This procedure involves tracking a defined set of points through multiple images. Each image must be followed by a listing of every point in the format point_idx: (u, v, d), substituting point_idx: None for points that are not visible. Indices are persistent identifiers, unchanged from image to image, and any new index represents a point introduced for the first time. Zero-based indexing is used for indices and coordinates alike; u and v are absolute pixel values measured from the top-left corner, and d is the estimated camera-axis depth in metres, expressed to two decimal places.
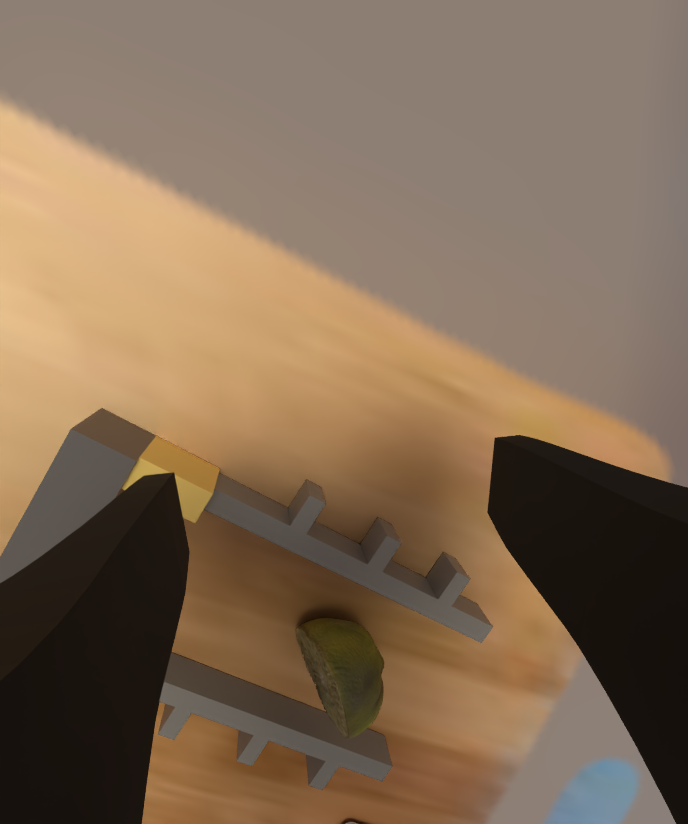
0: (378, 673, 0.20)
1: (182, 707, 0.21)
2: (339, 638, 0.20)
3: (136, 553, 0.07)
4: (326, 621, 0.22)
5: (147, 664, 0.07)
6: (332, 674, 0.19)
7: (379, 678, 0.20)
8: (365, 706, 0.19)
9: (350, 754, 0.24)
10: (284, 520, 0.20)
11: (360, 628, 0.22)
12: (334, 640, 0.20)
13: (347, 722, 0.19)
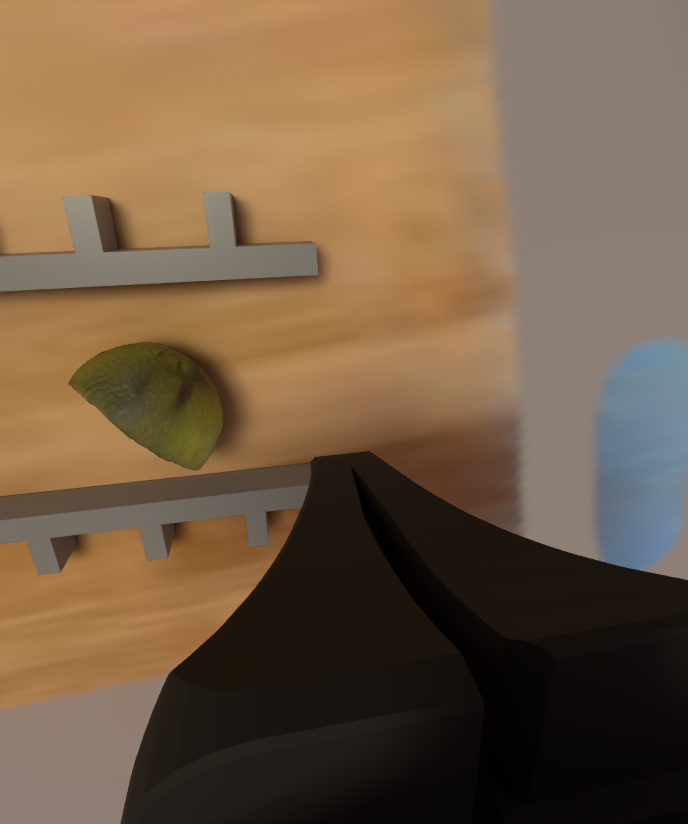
0: (162, 371, 0.14)
1: (34, 537, 0.18)
2: (95, 360, 0.15)
3: None
4: None
5: None
6: (86, 398, 0.14)
7: (166, 376, 0.14)
8: (149, 412, 0.14)
9: (267, 493, 0.19)
10: None
11: None
12: (88, 365, 0.15)
13: (137, 441, 0.14)
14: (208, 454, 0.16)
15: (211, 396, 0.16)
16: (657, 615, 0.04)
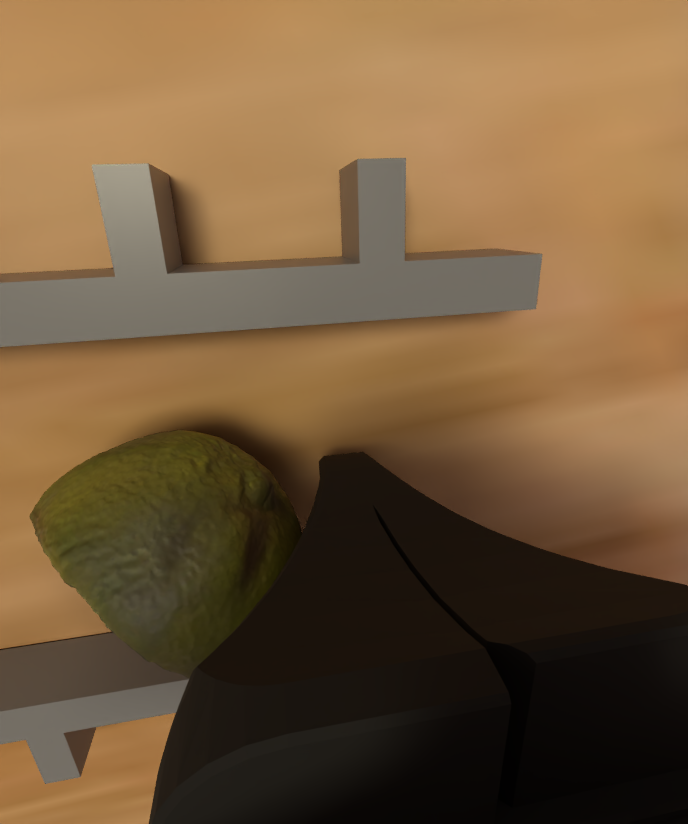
0: (215, 510, 0.07)
1: (38, 733, 0.11)
2: (84, 478, 0.08)
3: None
4: None
5: None
6: (61, 573, 0.07)
7: (223, 520, 0.07)
8: (191, 606, 0.07)
9: None
10: None
11: (171, 434, 0.09)
12: (70, 489, 0.07)
13: (163, 666, 0.07)
14: None
15: (293, 535, 0.09)
16: (641, 617, 0.04)
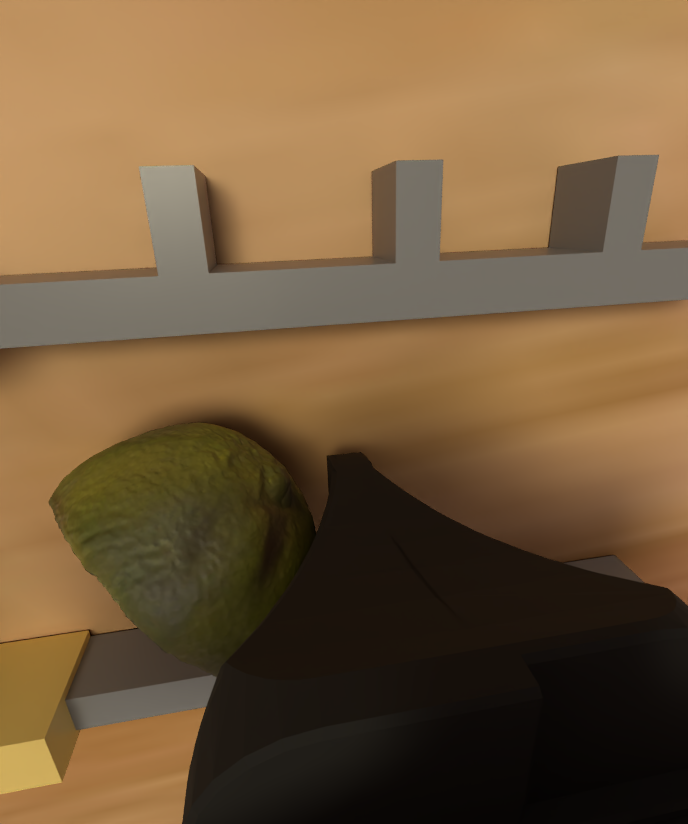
0: (237, 505, 0.07)
1: None
2: (106, 467, 0.08)
3: None
4: None
5: None
6: (82, 560, 0.07)
7: (245, 515, 0.07)
8: (211, 599, 0.07)
9: None
10: (145, 275, 0.08)
11: (192, 426, 0.09)
12: (92, 477, 0.07)
13: (180, 657, 0.07)
14: None
15: (309, 533, 0.09)
16: (618, 623, 0.04)
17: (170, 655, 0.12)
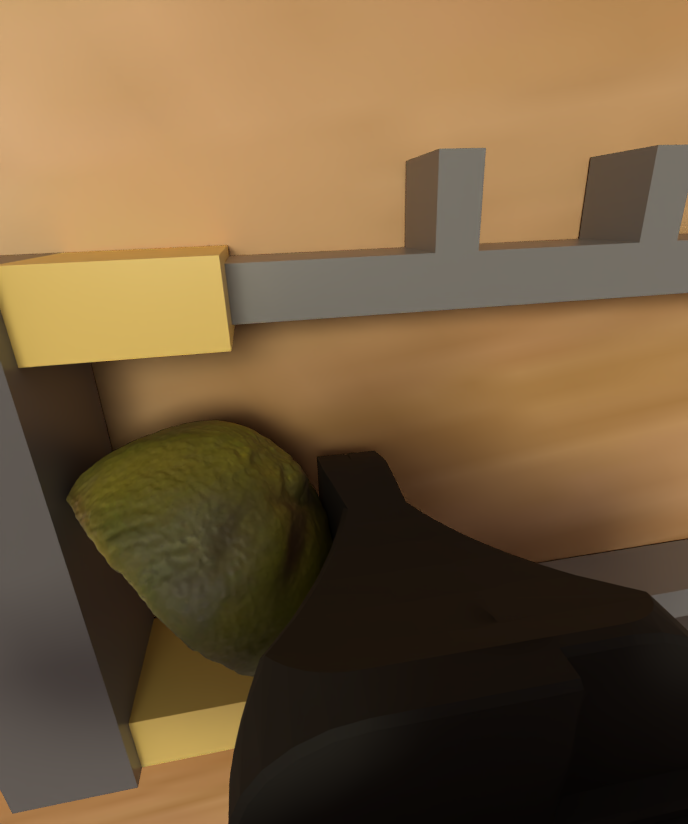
0: (261, 502, 0.07)
1: None
2: (126, 464, 0.07)
3: None
4: None
5: None
6: (107, 558, 0.07)
7: (268, 512, 0.07)
8: (238, 596, 0.07)
9: None
10: (416, 252, 0.08)
11: (210, 423, 0.09)
12: (112, 474, 0.07)
13: (206, 655, 0.07)
14: None
15: (326, 530, 0.09)
16: (594, 626, 0.04)
17: None
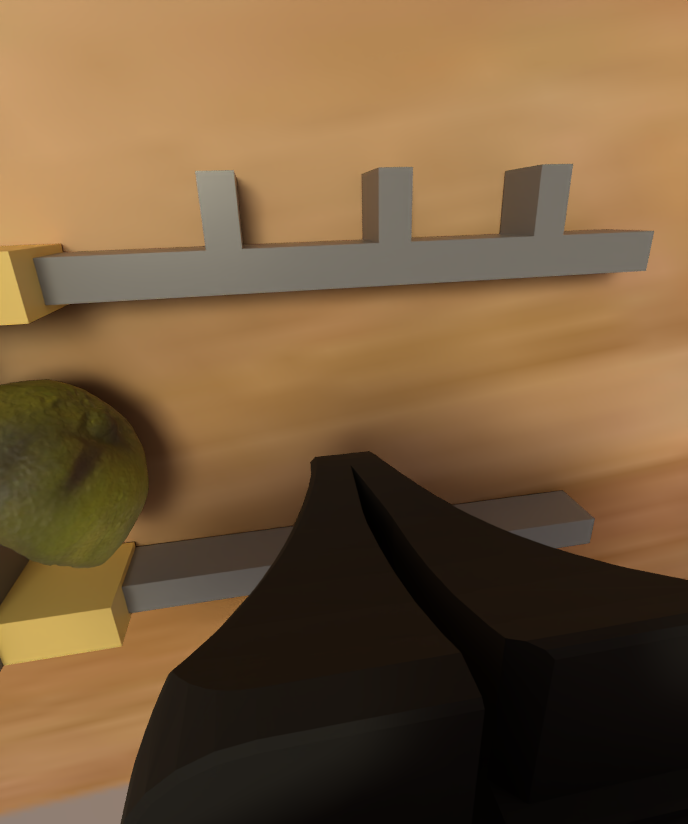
0: (51, 433, 0.10)
1: None
2: None
3: None
4: None
5: None
6: None
7: (57, 441, 0.10)
8: (19, 497, 0.09)
9: (526, 533, 0.16)
10: (195, 250, 0.11)
11: (36, 380, 0.11)
12: None
13: None
14: (117, 545, 0.11)
15: (129, 465, 0.11)
16: (657, 616, 0.04)
17: (201, 558, 0.15)
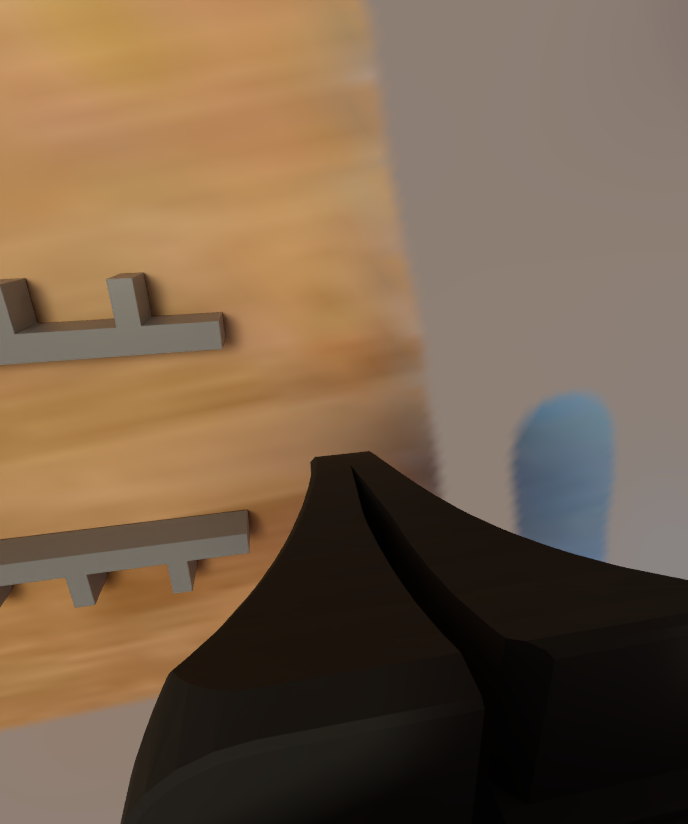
0: None
1: None
2: None
3: None
4: None
5: None
6: None
7: None
8: None
9: (187, 544, 0.20)
10: None
11: None
12: None
13: None
14: None
15: None
16: (657, 616, 0.04)
17: None
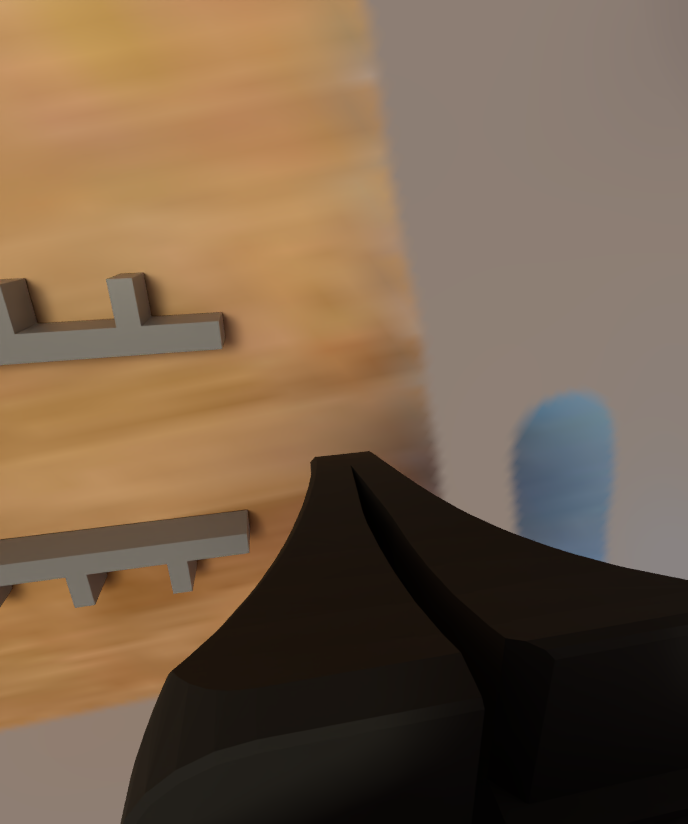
0: None
1: None
2: None
3: None
4: None
5: None
6: None
7: None
8: None
9: (187, 544, 0.20)
10: None
11: None
12: None
13: None
14: None
15: None
16: (658, 615, 0.04)
17: None
